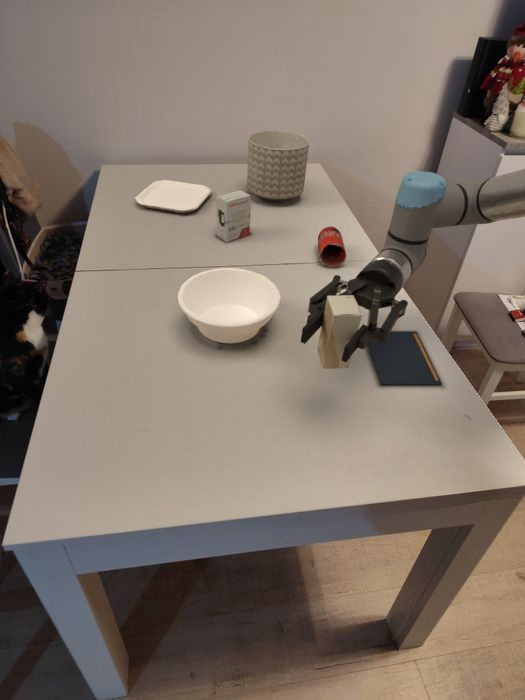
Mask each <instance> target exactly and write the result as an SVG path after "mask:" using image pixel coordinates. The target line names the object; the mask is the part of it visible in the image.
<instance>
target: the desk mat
mask: <svg viewBox="0 0 525 700" xmlns="http://www.w3.org/2000/svg"><path fill="white" fill-rule="evenodd" d="M366 348H367V350H368V353H369V356H370V358H371V362H372V364H373V367H374V370H375V373H376V376H377V378H378V382H379V384H380V386H442V385H443V382H442V381H441V379H440V377H439V374H438V373H437V371H436V368H435V367H434V366H435V365H433V363H432V360H431V358H430V356H429V354H428V352H427V350H426V348H425V346H424V344H423V342H422V339H421V338H420V336H419V334H418V332H417V331H407V330H405V331H401V330H399V331H398V330H396V331H394V330H391V332H390V334H389V336H388V338H387V340H386V341H385V343H380V342H379V341H378V340H377V339H373V340H371V341H370V342H369V344H368V345H367V346H366Z"/></svg>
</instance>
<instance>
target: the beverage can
mask: <svg viewBox="0 0 525 700" xmlns="http://www.w3.org/2000/svg"><path fill="white" fill-rule="evenodd" d="M317 246H318V259H319V260H320V261H321V263H322V264H323V265H324V266H326V267H328V268H336V267H339V266H340V265H343V264H344V263H345V262H346V258H347V251H346V247H345V244H344V239H343V236H342V233H341V231H340V230H339V229H338V228H337V227H335V226H332V225H331V226H330V225H329V226H326V227H324V228H322V229H321V230H320V232H319V233H318V235H317Z"/></svg>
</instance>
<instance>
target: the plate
mask: <svg viewBox="0 0 525 700" xmlns="http://www.w3.org/2000/svg"><path fill="white" fill-rule="evenodd" d="M212 192H213V191H212V190H211V188H209V187H208V186H206V185H204V184H198V183H197V184H196V183H189V182H183V181H178V180H177V181H176V180H169V179H163V180H155V181H153V182H151V183H150V184H149V185H148V186H147V187H146V188H145V189H143V190H142V191H141V192H140V193H138V195H136V196H135V197H134V201H135V202H136V203H137V204H138V205H140V206H141V207H145V208H146V209H147V208H148V209H152V210H158V211H166V212H171V213H178V214H186V213H191V212H194V211H197V210H198V209H199V208H200V207H201V206H202V204H203V203H204V202H205V201H206V200H207V198H208V197H209V196H210V195H211V194H212Z"/></svg>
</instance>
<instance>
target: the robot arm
mask: <svg viewBox="0 0 525 700" xmlns="http://www.w3.org/2000/svg"><path fill="white" fill-rule="evenodd" d="M519 218H520V219H521V218H525V168H523V169H519V170H515V171H512V172H507V173H505V174H501V175H496V176H492V177H489V178H485V179H481V180H478V181H477V180H476V181H471V182H463V183H462V182H461V183H447V181H446V179H445V178H444V177H443V176H442V175H440V174H438V173H435V172H431V171H423V170H414V171H410V172H407V173H406V174H405V175H404V176H403V178H402V180H401V182H400V185H399V188H398V190H397V194H396V196H395V202H394V207H393V212H392V215H391V220H390V225H389V227H388V230H387V233H386V237H385V241H384V245H383V247H382V249H381V250H380V251H379V253H377V254H376V255H375V256H374V257H373V258H372V259H371V260H370V261H369V262H368V263H367V264H366V265H365V266H364V267H363V268H362V270H360V271H359V272H358V274H357V275H356V277H355V278H351V279H349V280H348V281H347V280H342V279H341V278H342V277H341V275H338V274H334V275H333V278H332V281H330V282H329V283H327V284H326V285H325V286H324V287H323V288H321V289H320V290H319V291H318V292H316V293H315V294H314V295H312V296H310V298H309V302H308V308H307V312H308V313H309V314H308V315H307V318H306V324H305V325H303V327H302V329H301V336H300V343H302V344H304V345H305V344H306V343H307V342H308V341H309V340H310V339H311V338H312V337H313V336H314V335H315V334H316V333H317V331H319V330H320V329H321V327H322V322H323V317H324V311H325V306H326V301H327V296H339V295H353V296H354V297H355V299H356V302H357V304H358V306H359V307H362V308H363V309H365V310H367V311H368V315H367V316H368V317H367V324H364V323H362V325H361V326H359V328H358V331H357V332H356V333H355V335H354V336H353V337H352V338H351V339H350V341H349V342H348V343H347V344H346V346H345V347H344V352H343V356H342V361H344V362H347V361H348V359H349V358H350V357H352V356H353V355H354V354H355V352H356V351H357V349H360V350H365V349H366V348H367V345H368V344H369V342H370V341H371V340H373V339H377V340H378V341H379V342H380V343H385V341H386V340H387V338H388V336H389V334H390V332H391V331H393V328H394V326H395V325H396V323H397V321H398V319H400V318H402V317H403V316H405V313H406V310H407V307H408V304H409V301H407V300H406V299H401V300H397V299H396V296H398V294H399V293H400V291H401V290H402V288H403V287H404V286H405V285H406V284H407V283H408V281H409V280H410V278H412V276H413V275H414V273H416V271H417V270H418V269H419V268H420V267H421V266H422V265H423V263H424V262H425V259H426V257H427V255H428V252H429V244H428V242H429V239H430V236H431V233H432V231H433V229H438V228H447V227H457V226H471V225H484V224H485V225H486V224H492V223H496V222H500V221H504V220H506V221H507V220H512V219H519ZM343 290H345V291H343ZM342 291H343V292H342ZM385 308H390V311H389V313H388V315H387V316H386V318H385V320H384V322H383V324H381V327H378V317H379V311H380V309H385ZM350 359H351V358H350Z"/></svg>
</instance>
